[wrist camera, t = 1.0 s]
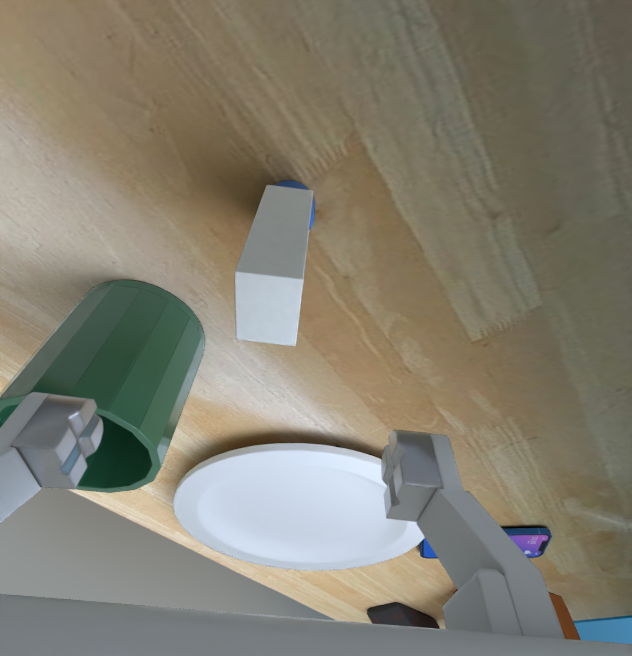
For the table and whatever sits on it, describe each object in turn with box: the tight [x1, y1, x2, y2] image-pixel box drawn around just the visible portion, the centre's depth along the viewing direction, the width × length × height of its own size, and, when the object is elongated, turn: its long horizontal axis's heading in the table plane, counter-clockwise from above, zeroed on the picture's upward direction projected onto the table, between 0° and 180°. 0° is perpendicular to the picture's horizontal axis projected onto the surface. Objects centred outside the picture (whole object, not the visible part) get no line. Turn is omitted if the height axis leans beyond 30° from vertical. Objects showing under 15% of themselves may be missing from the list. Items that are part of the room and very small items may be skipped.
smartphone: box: [420, 528, 552, 558], centre depth 49 cm, size 7×1×15 cm
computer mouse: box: [367, 603, 440, 629], centre depth 69 cm, size 8×14×4 cm, turn 43°
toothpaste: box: [235, 181, 315, 346], centre depth 18 cm, size 3×3×10 cm
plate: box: [173, 443, 425, 571], centre depth 44 cm, size 28×28×2 cm
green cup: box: [0, 280, 205, 493], centre depth 25 cm, size 9×9×10 cm
